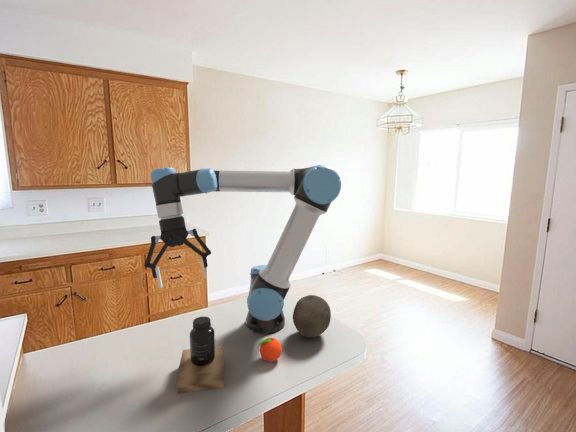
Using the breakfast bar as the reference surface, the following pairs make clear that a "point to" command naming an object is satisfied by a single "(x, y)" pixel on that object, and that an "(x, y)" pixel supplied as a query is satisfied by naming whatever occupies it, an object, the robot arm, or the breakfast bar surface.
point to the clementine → (270, 349)
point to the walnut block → (200, 373)
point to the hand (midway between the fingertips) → (183, 282)
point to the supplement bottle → (202, 342)
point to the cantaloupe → (311, 316)
